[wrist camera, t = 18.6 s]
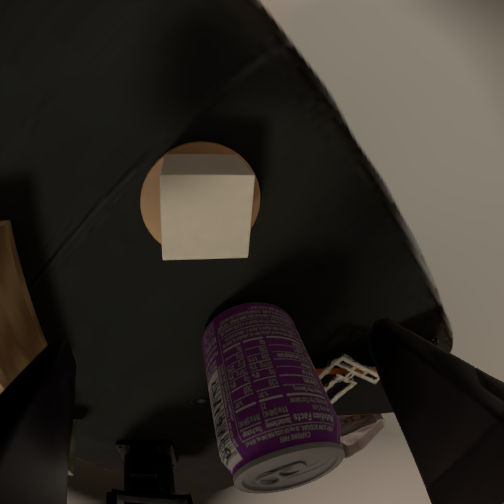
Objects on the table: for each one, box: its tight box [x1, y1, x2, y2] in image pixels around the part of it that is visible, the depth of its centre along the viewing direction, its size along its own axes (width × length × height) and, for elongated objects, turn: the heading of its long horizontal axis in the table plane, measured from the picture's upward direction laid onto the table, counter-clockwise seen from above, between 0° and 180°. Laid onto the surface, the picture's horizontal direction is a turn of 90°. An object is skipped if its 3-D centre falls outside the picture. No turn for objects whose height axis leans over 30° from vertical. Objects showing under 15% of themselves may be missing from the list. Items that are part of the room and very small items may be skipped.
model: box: [318, 354, 380, 404], centre depth 27 cm, size 11×12×1 cm
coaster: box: [140, 141, 260, 244], centre depth 19 cm, size 7×7×1 cm
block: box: [160, 154, 255, 260], centre depth 16 cm, size 4×4×4 cm
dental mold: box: [337, 414, 385, 458], centre depth 31 cm, size 8×7×5 cm
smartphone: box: [315, 367, 394, 416], centre depth 27 cm, size 8×17×1 cm, turn 97°
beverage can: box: [202, 302, 345, 493], centre depth 19 cm, size 7×7×12 cm
